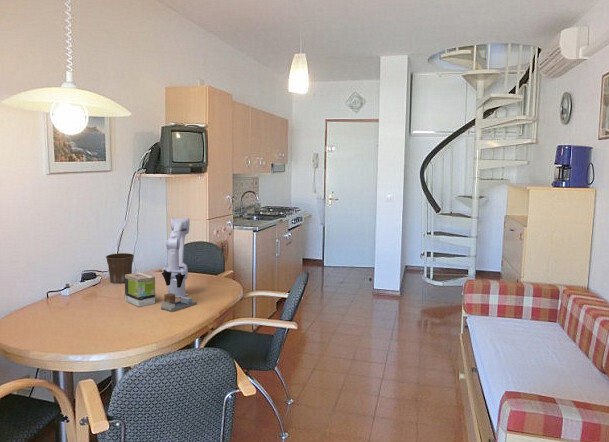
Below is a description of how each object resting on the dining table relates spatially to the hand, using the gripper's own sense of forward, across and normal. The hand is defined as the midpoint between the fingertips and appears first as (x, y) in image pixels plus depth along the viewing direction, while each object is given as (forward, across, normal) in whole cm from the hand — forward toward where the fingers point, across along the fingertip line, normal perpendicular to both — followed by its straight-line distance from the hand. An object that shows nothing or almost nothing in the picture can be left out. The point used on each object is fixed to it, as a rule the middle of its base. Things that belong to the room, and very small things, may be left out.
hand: (173, 286), depth 250 cm
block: (+10, -2, -1) cm, 10 cm away
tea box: (+10, -17, -8) cm, 21 cm away
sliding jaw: (+8, +6, +2) cm, 11 cm away
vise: (+9, +6, -2) cm, 11 cm away
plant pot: (+10, -59, +17) cm, 63 cm away
